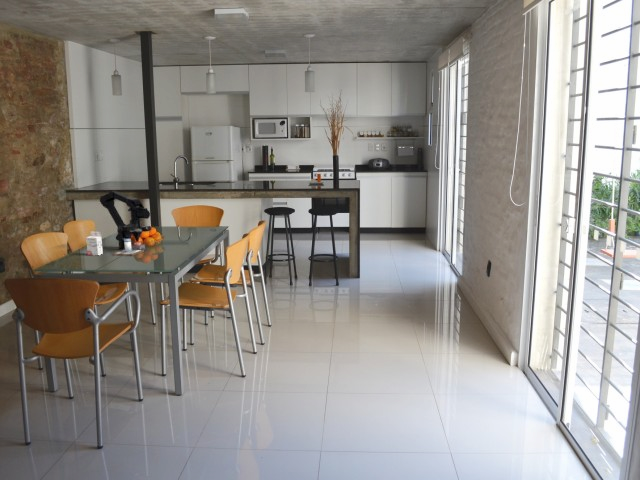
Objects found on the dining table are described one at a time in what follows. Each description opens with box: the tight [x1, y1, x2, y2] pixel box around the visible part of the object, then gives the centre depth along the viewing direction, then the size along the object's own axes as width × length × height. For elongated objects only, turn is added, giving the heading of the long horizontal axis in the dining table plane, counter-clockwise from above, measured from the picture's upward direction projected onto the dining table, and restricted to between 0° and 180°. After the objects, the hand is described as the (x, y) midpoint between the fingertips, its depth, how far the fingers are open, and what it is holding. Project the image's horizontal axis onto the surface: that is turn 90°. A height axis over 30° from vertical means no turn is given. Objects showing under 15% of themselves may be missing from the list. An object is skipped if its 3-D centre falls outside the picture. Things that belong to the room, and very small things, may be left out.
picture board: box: [112, 249, 145, 257], centre depth 387 cm, size 14×14×1 cm
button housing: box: [131, 244, 146, 251], centre depth 398 cm, size 6×6×3 cm
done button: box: [133, 241, 142, 246], centre depth 397 cm, size 4×4×3 cm
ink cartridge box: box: [85, 230, 104, 256], centre depth 385 cm, size 9×5×15 cm, turn 71°
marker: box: [124, 238, 132, 252], centre depth 386 cm, size 4×4×8 cm
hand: (137, 241), depth 397 cm, fingers closed
